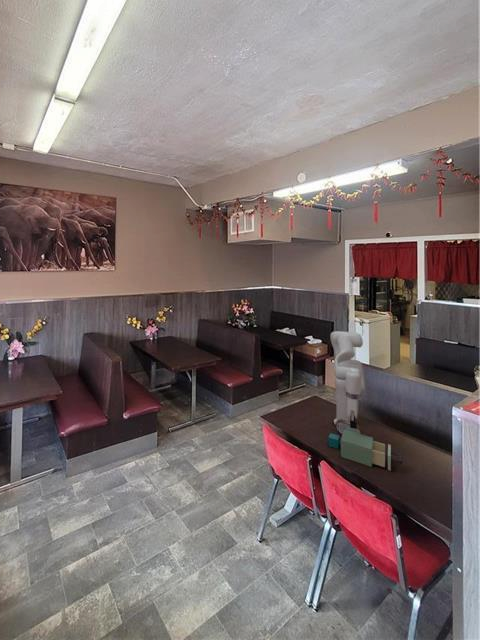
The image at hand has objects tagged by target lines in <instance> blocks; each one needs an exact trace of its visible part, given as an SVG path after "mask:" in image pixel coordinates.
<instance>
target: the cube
mask: <svg viewBox="0 0 480 640" xmlns="http://www.w3.org/2000/svg"><path fill="white" fill-rule="evenodd" d="M340 446H341V438H340V435H338V434H335V433H329V436H328V447H331V448H334V449H337V450H338V449H339V448H340Z"/></svg>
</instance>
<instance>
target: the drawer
mask: <svg viewBox="0 0 480 640" xmlns="http://www.w3.org/2000/svg"><path fill="white" fill-rule="evenodd" d="M392 455H395V456H398V459H396V458H393V457H392ZM392 461H393V462H397V463H399V464H400V465H402V464H403V454H402V453H396V452H393V451H392V445H391V444H387V470H388V471H392ZM372 465H376V466H380V467H381V468H386V444H385V443H382V442H379V441H376V440H373V445H372Z"/></svg>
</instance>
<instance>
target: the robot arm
mask: <svg viewBox="0 0 480 640" xmlns="http://www.w3.org/2000/svg"><path fill="white" fill-rule="evenodd" d="M329 339H330V342H331V343H330V344H331V346H332V348H333V350H334V359H333V362H332V363H333V374H334V377H335V378H334V385H335V398H336V401H335V403H336V404H335V405H336V407H335V408H336V409H335V411H336V415H335V418H334V419H333V424H334V425H335V426H336V422H337V421H338V420H339V419H343V420H346V421H348V422H350V428H353V429H357V425H358V422H357V419H358V414H359V401H361V400H362V394H363V393H365V392H366V381H365V371H364V367H363V364H362V362H361V361H360V360H358V359H353V358H354V357H355V355H356V353H355V349H354V348H362V347H363V344H364V342H363V341H364V340H363V337H362V335H361V334H359V332H354V331H341V330H337V331H336V330H335V331H332V332H331V333H330V337H329Z"/></svg>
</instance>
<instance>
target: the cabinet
mask: <svg viewBox="0 0 480 640" xmlns="http://www.w3.org/2000/svg"><path fill="white" fill-rule="evenodd" d="M373 441H374V437H372V436H368V435H365V434H363V435H362V434H358V433H355V432H351V431H348V430H344V431H343V434H341V438H340V457H341V458H343V459H345V460H350V461H352V462H355V463H359V464H361V465H364V466H368V467H370V468H372V467H373V463H372V445H373Z"/></svg>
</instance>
